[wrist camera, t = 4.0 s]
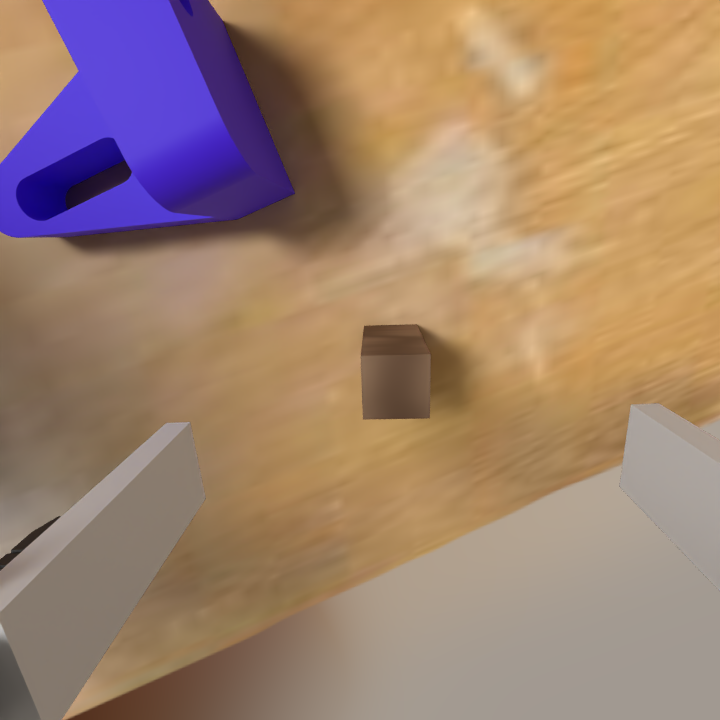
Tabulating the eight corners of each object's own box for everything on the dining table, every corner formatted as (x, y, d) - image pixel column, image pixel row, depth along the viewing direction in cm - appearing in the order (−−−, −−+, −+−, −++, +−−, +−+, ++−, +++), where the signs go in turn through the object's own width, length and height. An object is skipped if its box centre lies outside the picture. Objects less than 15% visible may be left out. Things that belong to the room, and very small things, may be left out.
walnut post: (365, 375, 32) (362, 419, 24) (364, 325, 31) (360, 355, 23) (416, 374, 32) (429, 418, 24) (416, 324, 31) (430, 354, 23)
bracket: (223, 21, 26) (103, -147, 14) (295, 193, 28) (243, 167, 17) (-5, 143, 28) (-258, 82, 17) (82, 289, 31) (-85, 321, 20)
